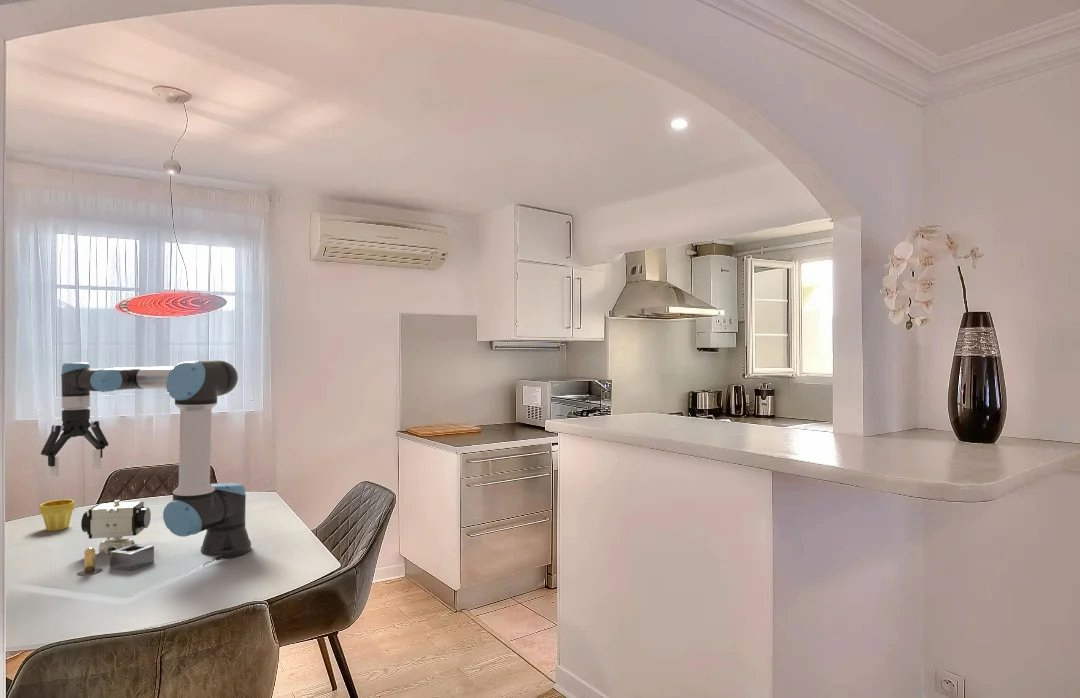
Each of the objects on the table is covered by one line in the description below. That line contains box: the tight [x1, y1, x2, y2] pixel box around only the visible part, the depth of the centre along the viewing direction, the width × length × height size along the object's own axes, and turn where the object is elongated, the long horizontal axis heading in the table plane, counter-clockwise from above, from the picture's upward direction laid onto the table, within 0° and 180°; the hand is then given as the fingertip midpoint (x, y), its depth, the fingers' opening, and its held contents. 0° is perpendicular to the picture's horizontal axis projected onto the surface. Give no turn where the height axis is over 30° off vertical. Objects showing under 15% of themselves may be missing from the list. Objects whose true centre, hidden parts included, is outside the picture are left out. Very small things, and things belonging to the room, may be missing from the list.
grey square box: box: [109, 543, 155, 572], centre depth 190 cm, size 8×8×5 cm
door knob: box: [76, 547, 104, 577], centre depth 184 cm, size 6×6×9 cm
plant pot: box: [39, 499, 75, 532], centre depth 232 cm, size 10×10×10 cm
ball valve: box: [80, 499, 152, 555], centre depth 204 cm, size 18×8×18 cm, turn 105°
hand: (76, 472), depth 205 cm, fingers open, 13 cm apart
